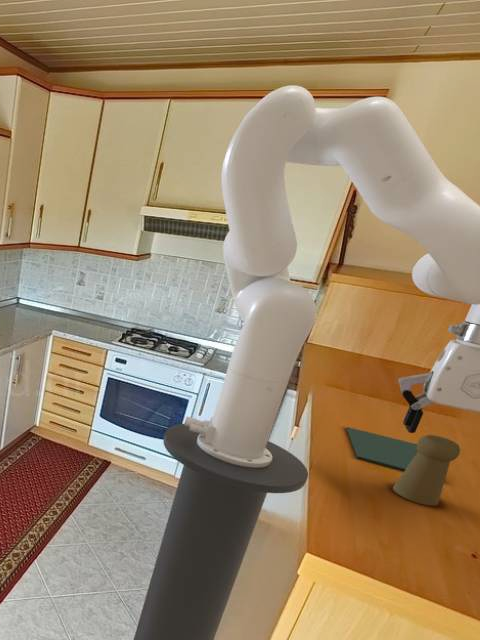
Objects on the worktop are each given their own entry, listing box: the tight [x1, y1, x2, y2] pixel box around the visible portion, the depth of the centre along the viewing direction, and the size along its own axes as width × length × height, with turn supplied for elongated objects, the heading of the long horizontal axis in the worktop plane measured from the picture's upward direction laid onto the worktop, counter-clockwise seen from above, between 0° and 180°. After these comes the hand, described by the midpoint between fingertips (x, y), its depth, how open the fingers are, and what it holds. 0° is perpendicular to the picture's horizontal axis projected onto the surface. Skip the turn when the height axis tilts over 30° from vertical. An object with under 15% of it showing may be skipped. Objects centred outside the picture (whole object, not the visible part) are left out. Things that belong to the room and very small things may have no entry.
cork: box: [392, 434, 461, 507], centre depth 82 cm, size 6×6×11 cm
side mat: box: [345, 426, 418, 472], centre depth 101 cm, size 13×18×1 cm
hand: (446, 438), depth 80 cm, fingers open, 9 cm apart
